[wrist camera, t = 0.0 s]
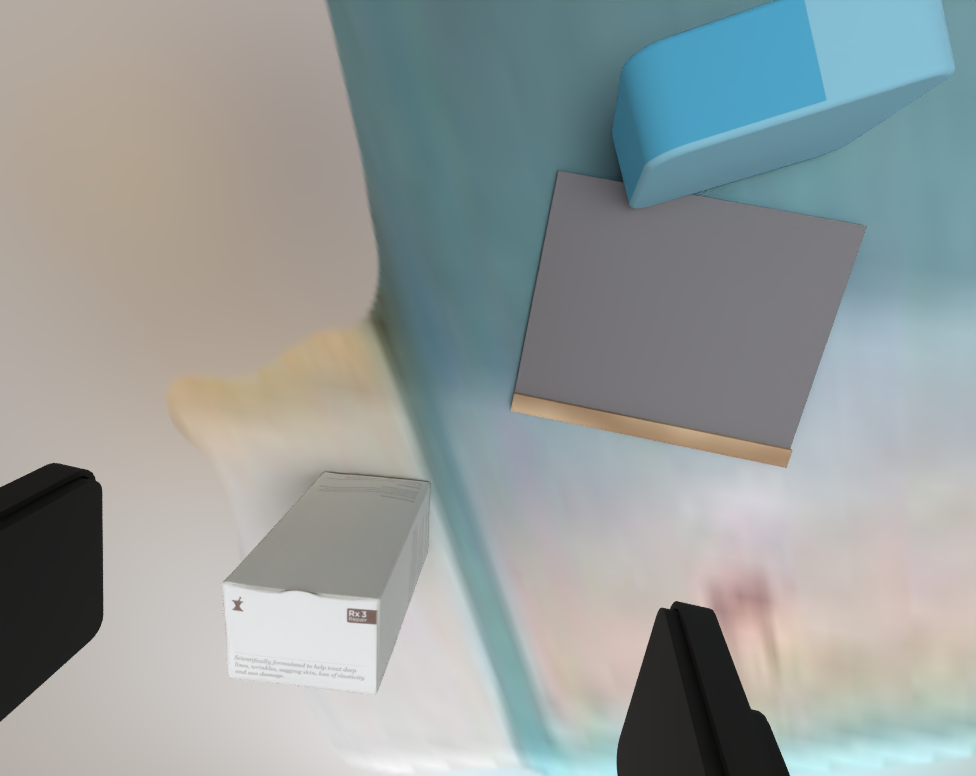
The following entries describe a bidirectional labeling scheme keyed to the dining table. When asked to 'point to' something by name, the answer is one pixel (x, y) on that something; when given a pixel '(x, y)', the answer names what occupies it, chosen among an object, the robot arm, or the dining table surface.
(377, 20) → the dining table surface
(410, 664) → the dining table surface
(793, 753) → the dining table surface
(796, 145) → the data package
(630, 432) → the oak strip
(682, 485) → the dining table surface
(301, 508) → the skincare box
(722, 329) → the rubber mat
